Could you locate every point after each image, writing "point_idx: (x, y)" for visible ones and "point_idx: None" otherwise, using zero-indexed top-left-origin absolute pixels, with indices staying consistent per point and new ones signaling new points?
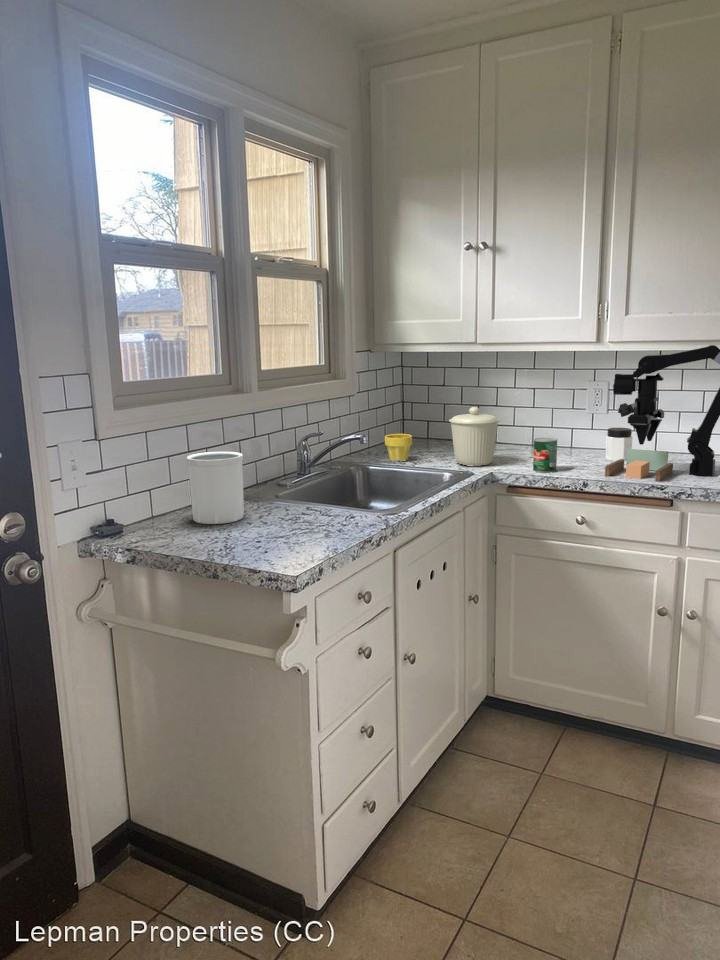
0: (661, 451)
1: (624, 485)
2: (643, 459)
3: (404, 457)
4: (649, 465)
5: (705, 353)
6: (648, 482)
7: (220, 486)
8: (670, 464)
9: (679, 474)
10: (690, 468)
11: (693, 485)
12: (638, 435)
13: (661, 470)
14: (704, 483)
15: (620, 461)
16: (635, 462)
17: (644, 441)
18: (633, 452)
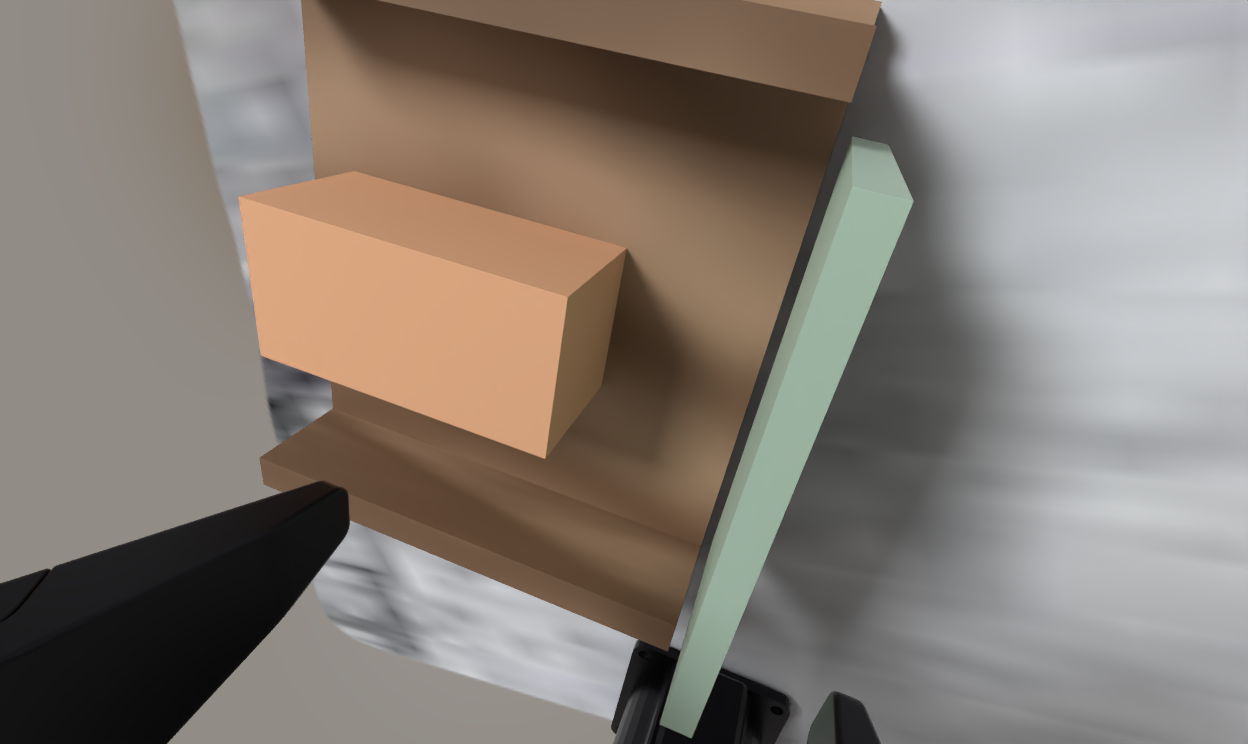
0: (678, 676)
1: (222, 173)
2: (764, 404)
3: None
4: (751, 434)
5: None
6: None
7: None
8: (589, 616)
9: (835, 620)
10: (661, 716)
11: (455, 605)
12: (84, 580)
13: None
14: (539, 671)
15: (648, 58)
16: (430, 301)
17: (300, 586)
18: (808, 297)
